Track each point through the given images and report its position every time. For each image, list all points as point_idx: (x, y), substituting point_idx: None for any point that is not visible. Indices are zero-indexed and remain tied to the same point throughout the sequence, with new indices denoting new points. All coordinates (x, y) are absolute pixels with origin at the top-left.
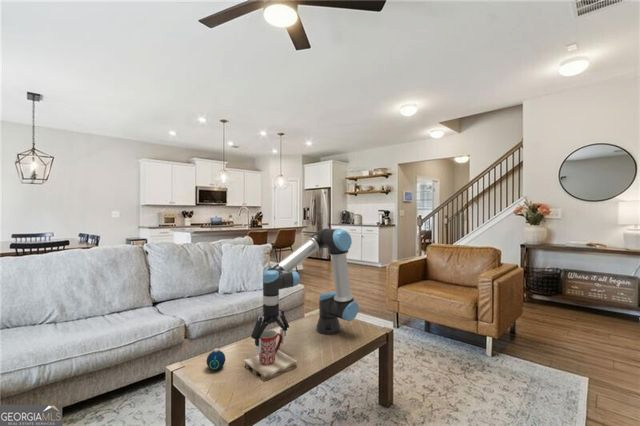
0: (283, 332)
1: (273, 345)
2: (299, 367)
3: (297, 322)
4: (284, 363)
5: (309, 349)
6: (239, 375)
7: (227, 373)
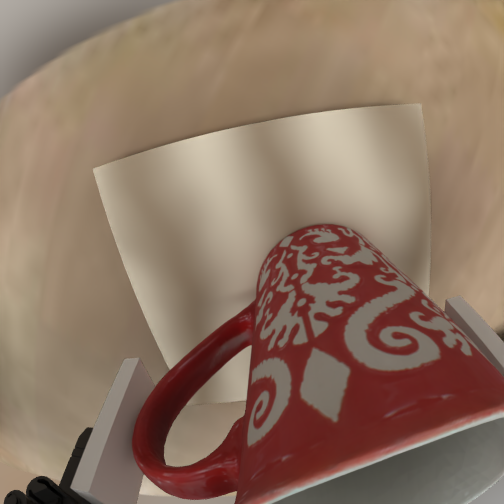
0: (93, 475)
1: (337, 315)
2: (101, 153)
3: (61, 478)
4: (202, 182)
5: (13, 320)
6: (469, 264)
7: (487, 308)
